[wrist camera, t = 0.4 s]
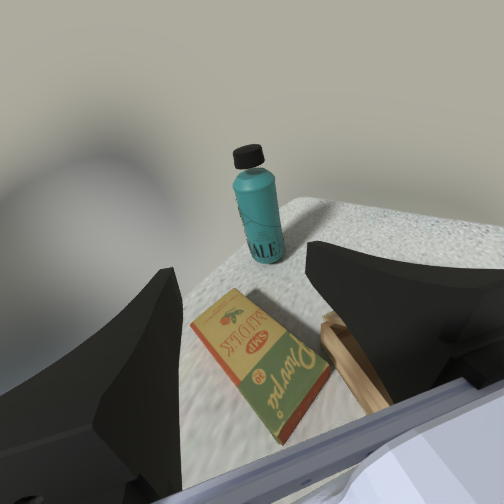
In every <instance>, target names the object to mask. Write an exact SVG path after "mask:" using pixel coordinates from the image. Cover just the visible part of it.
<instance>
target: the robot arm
mask: <svg viewBox="0 0 504 504" xmlns="http://www.w3.org/2000/svg"><path fill="white" fill-rule="evenodd" d="M305 274H306V275H307V277H308V279H309V281H310V282H311V284H312V285H313V287H314V288H315V289H316V290H317V291H318V293H319V294H320V295H321V296H322V297H323V299H324V300H325V301H326V302H327V303H328V304H329V305H330V307H331V308H332V309H333V310H334V311H335V312H336V314H337V315H338V316H339V317H340V318H341V320H342V321H343V322H344V323H345V325H346V326H347V328H348V329H349V331H350V332H351V333H352V335H353V336H354V338H355V339H356V341H357V342H358V344H359V345H360V347H361V348H362V350H363V352H364V353H365V355H366V356H367V358H368V359H369V361H370V363H371V364H372V366H373V368H374V369H375V371H376V373H377V374H378V376H379V378H380V380H381V381H382V383H383V385H384V387H385V389H386V390H387V392H388V394H389V396H390V398H391V399H392V401H393V403H394V405H392V406H389V407H387V408H384V409H382V410H380V411H377V412H375V413H372V414H370V415H367V416H365V417H362V418H360V419H357V420H355V421H352V422H350V423H348V424H345V425H343V426H340V427H338V428H335V429H333V430H330V431H328V432H325V433H323V434H320V435H318V436H316V437H313V438H311V439H308V440H306V441H303V442H301V443H298V444H296V445H293V446H291V447H288V448H286V449H284V450H281V451H279V452H276V453H274V454H271V455H269V456H266V457H264V458H261V459H259V460H256V461H254V462H252V463H249V464H247V465H244V466H242V467H239V468H237V469H234V470H232V471H229V472H227V473H224V474H222V475H220V476H217V477H215V478H212V479H210V480H207V481H205V482H202V483H200V484H197V485H195V486H192V487H190V488H188V489H185V490H183V491H182V474H181V454H180V426H179V356H180V345H181V335H182V324H183V303H182V297H181V293H180V290H179V286H178V283H177V279H176V276H175V272H174V268H173V267H171V268H165V269H160V270H159V271H158V272H157V273H156V274H155V276H154V277H153V278H152V279H151V280H150V281H149V283H148V284H147V285H146V286H145V287H144V288H143V289H142V290H141V292H140V293H139V294H138V295H137V296H136V297H135V298H134V299H133V300H132V301H131V302H130V303H129V304H128V305H127V306H126V307H125V308H124V309H123V310H122V311H121V312H120V313H119V314H118V315H117V316H116V317H114V318H113V319H112V320H111V321H110V322H109V323H107V324H106V325H105V326H104V327H103V328H101V329H100V330H99V331H98V332H96V333H95V334H94V335H92V336H91V337H90V338H88V339H87V340H86V341H85V342H83V343H82V344H80V345H79V346H78V347H76V348H75V349H74V350H72V351H71V352H70V353H68V354H67V355H65V356H64V357H62V358H61V359H60V360H58V361H56V362H55V363H53V364H52V365H50V366H49V367H47V368H46V369H44V370H42V371H41V372H39V373H38V374H36V375H35V376H33V377H32V378H30V379H28V380H27V381H25V382H23V383H22V384H20V385H18V386H17V387H15V388H13V389H12V390H10V391H8V392H7V393H5V394H3V395H1V396H0V504H271V503H273V502H275V501H277V500H279V499H281V498H284V497H286V496H288V495H290V494H292V493H294V492H297V491H299V490H301V489H303V488H305V487H308V486H310V485H312V484H314V483H316V482H318V481H321V480H323V479H325V478H327V477H329V476H331V475H334V474H336V473H338V472H340V471H342V470H345V469H347V468H349V467H351V466H353V465H355V464H358V463H360V462H361V464H360V465H358V466H356V467H355V468H353V469H351V470H349V471H347V472H346V473H344V474H342V475H340V476H338V477H337V478H335V479H333V480H331V481H330V482H328V483H326V484H324V485H323V486H321V487H319V488H317V489H316V490H314V491H312V492H311V493H309V494H307V495H305V496H304V497H302V498H300V499H299V500H297V501H295V502H293V503H292V504H504V269H471V268H453V267H440V266H429V265H422V264H414V263H407V262H401V261H396V260H390V259H385V258H381V257H376V256H372V255H368V254H364V253H361V252H357V251H354V250H350V249H347V248H344V247H340V246H337V245H334V244H330V243H326V242H322V241H313V242H308V243H307V255H306V268H305Z"/></svg>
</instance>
